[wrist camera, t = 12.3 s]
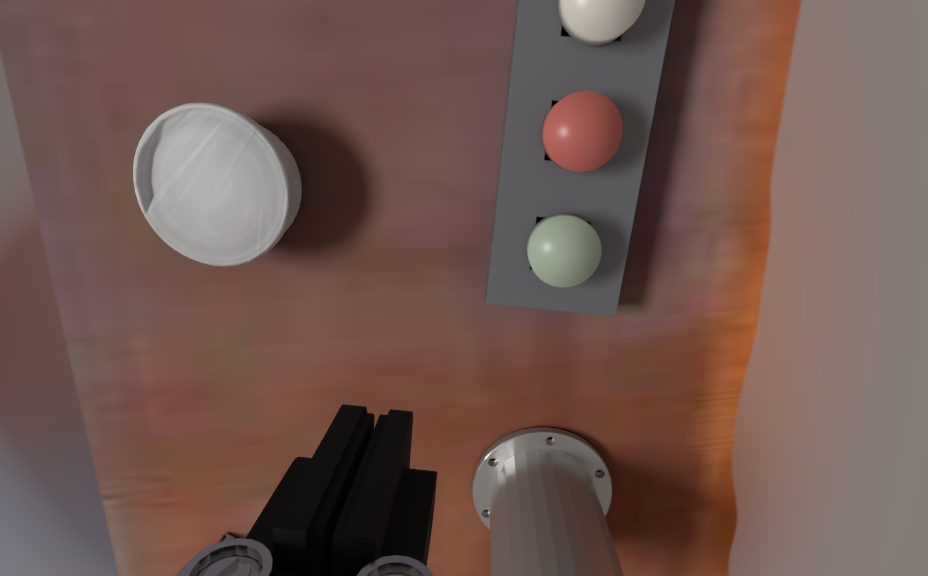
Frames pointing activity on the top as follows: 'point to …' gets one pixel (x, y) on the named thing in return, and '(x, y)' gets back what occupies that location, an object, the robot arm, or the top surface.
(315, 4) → the top surface
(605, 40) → the button cream
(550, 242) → the button sage
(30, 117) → the top surface
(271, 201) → the ramekin
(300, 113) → the top surface
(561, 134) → the button red
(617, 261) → the button panel
